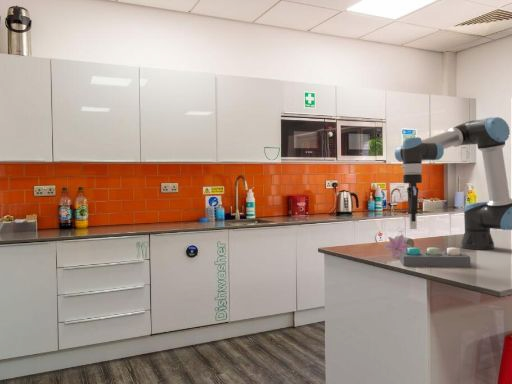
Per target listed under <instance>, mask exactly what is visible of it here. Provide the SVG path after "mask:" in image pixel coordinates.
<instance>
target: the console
mask: <svg viewBox="0 0 512 384" xmlns="http://www.w3.org/2000/svg"><path fill="white" fill-rule="evenodd" d="M399 262H400V263H401V264H402V266H403V267H453V268H454V267H459V268H461V267H468V268H469V267H471V256H470V255H468V254H467V253H464V252H463V251H460V256H448V255H447V251H440V255H427V251H420V255H408V252H400V254H399Z"/></svg>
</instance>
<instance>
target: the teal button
mask: <svg viewBox="0 0 512 384" xmlns="http://www.w3.org/2000/svg"><path fill="white" fill-rule="evenodd" d="M407 249H408V255H420V252H421V248H420V247H415V246H414V247H410V248H407Z"/></svg>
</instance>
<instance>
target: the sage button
mask: <svg viewBox="0 0 512 384" xmlns="http://www.w3.org/2000/svg"><path fill="white" fill-rule="evenodd" d="M426 252H427V255H440V252H441V249H440V247H434V246H433V247H426Z"/></svg>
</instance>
